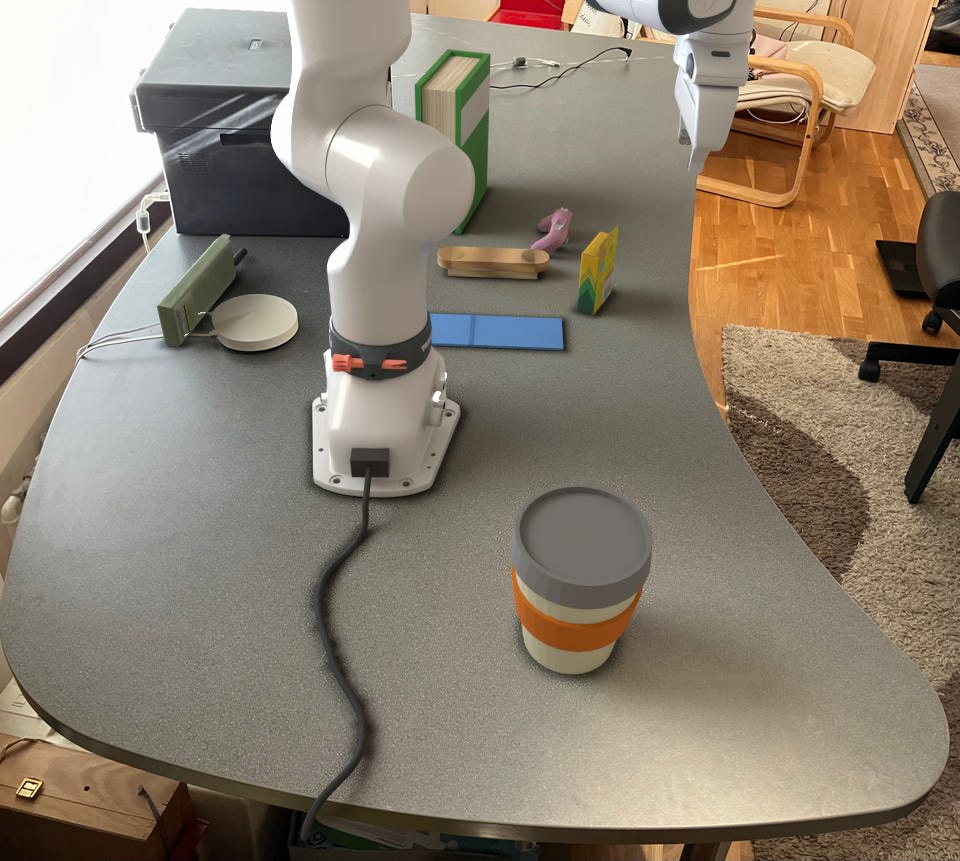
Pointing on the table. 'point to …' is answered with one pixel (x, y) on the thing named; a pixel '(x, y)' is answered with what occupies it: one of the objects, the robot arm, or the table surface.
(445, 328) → the blue cloth
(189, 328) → the handheld radio
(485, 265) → the scrub brush
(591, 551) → the reusable coffee cup
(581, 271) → the crayon box
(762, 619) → the table surface
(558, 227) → the video game controller
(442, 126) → the hardback book
